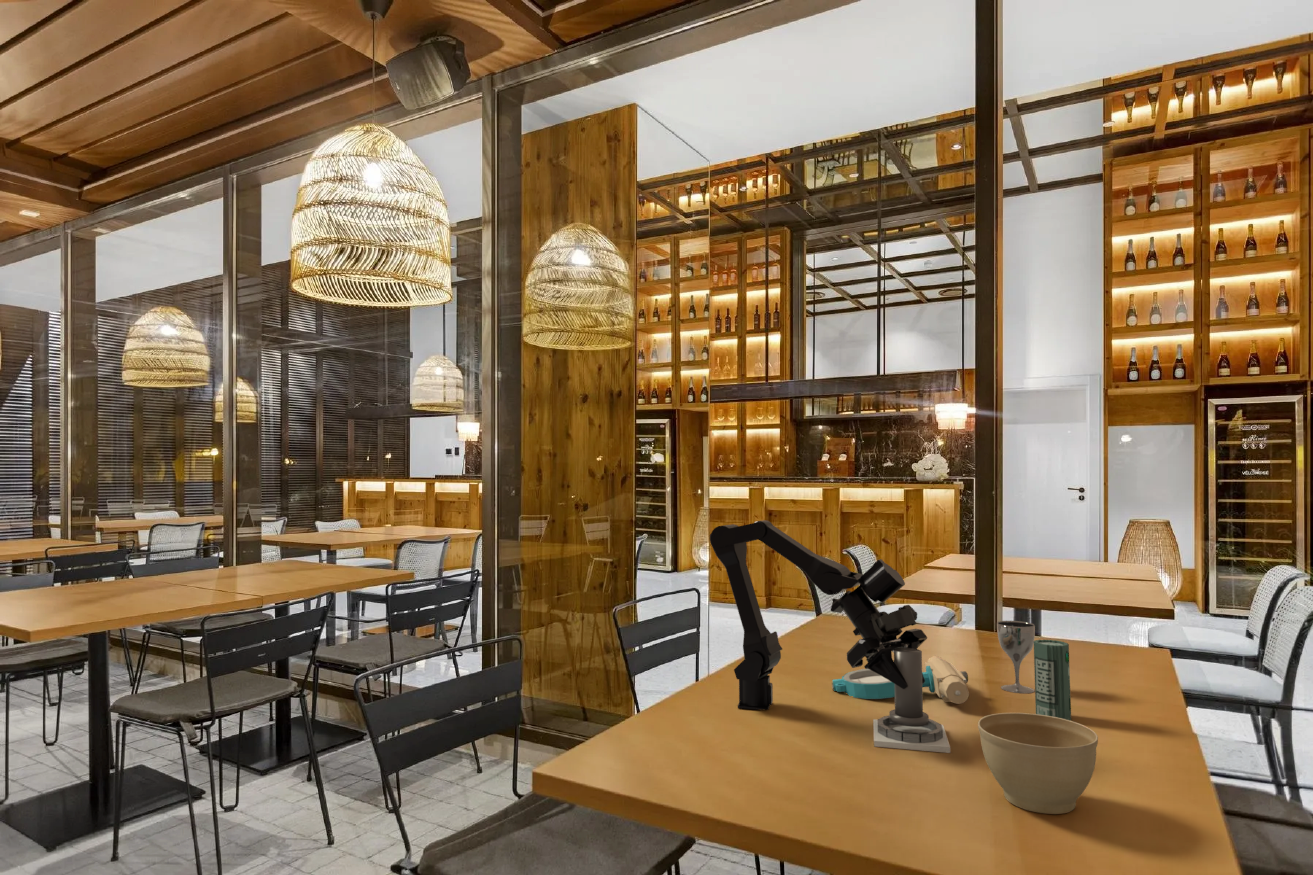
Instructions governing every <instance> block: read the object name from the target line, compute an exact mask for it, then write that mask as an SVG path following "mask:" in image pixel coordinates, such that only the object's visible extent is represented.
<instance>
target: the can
mask: <svg viewBox="0 0 1313 875" xmlns="http://www.w3.org/2000/svg"><path fill="white" fill-rule="evenodd" d="M1069 645H1070V644H1069V643H1067V642H1065V641H1061V640H1056V639H1037V640H1036V639H1034V644H1033V663H1034V665H1033V666H1034V667H1033V668H1034V687H1035V688H1034V690H1035V692H1034V695H1035V696H1034V697H1035V714H1039V715H1046V716H1052V717H1058V718H1062V719H1066V720H1070V721H1072V705H1071V703H1072V699H1071V697H1072V696H1071V675H1070V674H1071V672H1070V671H1071V670H1070V646H1069Z"/></svg>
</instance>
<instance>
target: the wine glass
mask: <svg viewBox="0 0 1313 875" xmlns="http://www.w3.org/2000/svg"><path fill="white" fill-rule="evenodd" d="M1035 627H1036V626H1035V624H1034V623H1032V622H1027V621H1021V620H1019V621H1018V620H999V621H997V622H996V630H997V633H996V634H997V639H998V642H999V645H1000V648H1001V649H1002V651H1004V652H1005V654H1006V655H1007V656H1008V657H1009V658H1010V660H1011V662H1012V665H1013V667H1014V668H1013V669H1014V674H1015V675H1014V676H1015V677H1014V678H1015V680H1014V681H1015V682H1014V683H1013V684H1005V685H1001V686H1000V689H1001V690H1003V691H1006V692H1009V693H1014V694H1032V693H1035V688H1031V687H1029V686H1025V685H1022V684H1021V683H1020V670H1021V669H1020V668H1021V664H1022V662H1023V660H1024V659H1025V658H1026V657H1027V656H1028V655H1029V654H1031V652H1032V650H1033V649H1034V641H1035V639H1036V638H1035V637H1036V636H1035V635H1036V633H1035V632H1036V630H1035V629H1036V628H1035Z"/></svg>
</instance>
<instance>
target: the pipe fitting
mask: <svg viewBox="0 0 1313 875" xmlns="http://www.w3.org/2000/svg"><path fill="white" fill-rule="evenodd" d="M893 661H894V663H895V664H896V666H897V668H898V669H899V671H900V672H901V674H902V676H903V677H904V679H905V681H906V683H907V685H908V687H907V688H906V689H902V688H901V687H899V686H897V685H896V684H894V685H895V697H894V709H891V710H889V714H888V716H889V718H890V721H891V722H893V723H895V724H899V725H903V726H910V727H920V726H925V725H928V724H929V719H930V718H929V714H928V713H927V712H924V711H923V710H924V709H923V708H924V707H923V705H924V704H923V701H924V700H923V698H924V697H923V687H922V672H923V652H922V650H921V649H919V648H917V649H914V648H896V649H894V652H893Z"/></svg>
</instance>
